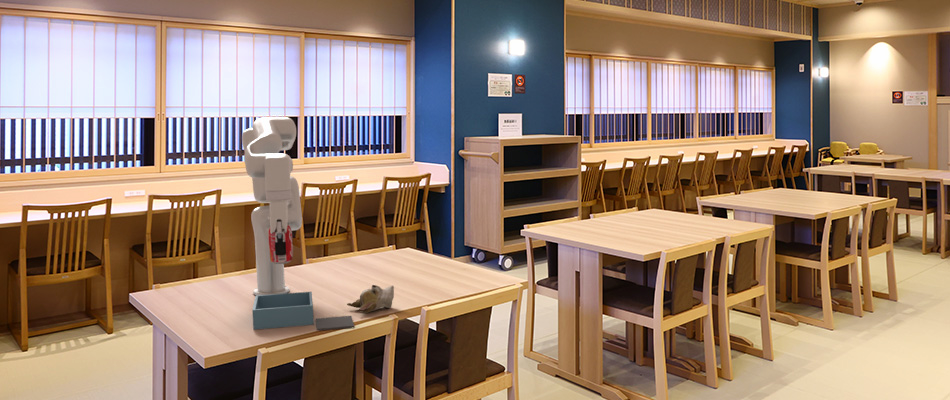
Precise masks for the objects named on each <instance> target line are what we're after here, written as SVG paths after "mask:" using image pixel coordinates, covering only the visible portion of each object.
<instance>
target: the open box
mask: <svg viewBox="0 0 950 400" xmlns="http://www.w3.org/2000/svg"><path fill="white" fill-rule="evenodd" d="M251 313H252V328H253V330H263V329H264V330H267V329H278V328H288V327H290V326H291V327H300V326H302V327H303V326H314V324H315V323H314V321H315V320H314V302H313V293H312V291H303V292H302V291H301V292H287V293H284V294H270V295H255V298H254V301H253V306H252V311H251Z"/></svg>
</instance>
